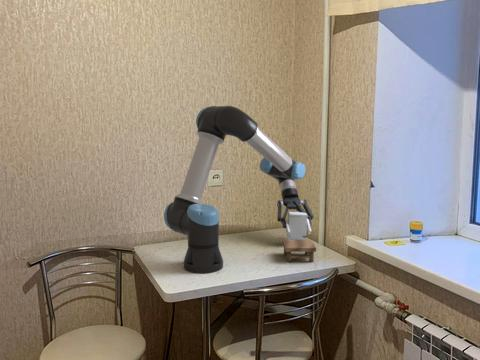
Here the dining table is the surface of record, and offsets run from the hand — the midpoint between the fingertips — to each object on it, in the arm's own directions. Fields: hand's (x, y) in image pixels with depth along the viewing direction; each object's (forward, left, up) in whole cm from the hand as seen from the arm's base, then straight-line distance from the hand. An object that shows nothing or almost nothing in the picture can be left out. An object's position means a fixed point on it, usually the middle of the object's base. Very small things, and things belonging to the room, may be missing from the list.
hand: (299, 233), depth 191 cm
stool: (-3, -15, -6) cm, 16 cm away
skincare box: (-1, +3, -7) cm, 7 cm away
